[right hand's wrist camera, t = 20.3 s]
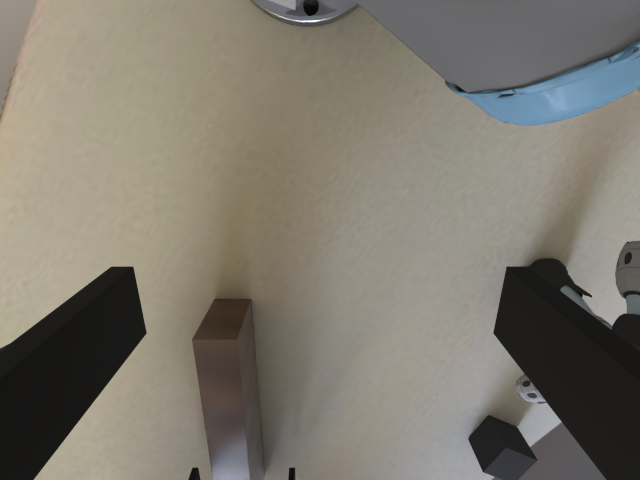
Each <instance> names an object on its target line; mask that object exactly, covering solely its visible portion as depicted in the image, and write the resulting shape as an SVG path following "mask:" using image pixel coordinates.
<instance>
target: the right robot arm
mask: <svg viewBox="0 0 640 480" xmlns="http://www.w3.org/2000/svg"><path fill="white" fill-rule="evenodd" d="M250 1H251V2H252V3H253V4H255V5H256V6H257V7H258V8H259V9H261V10H262V11H263V12H265V13H266V14H268V15H269V16H271V17H273V18H275V19H277V20H279V21H282V22H285V23H288V24H292V25H297V26H319V25H324V24H328V23H331V22H334V21H337V20H339V19H341V18H343V17H345V16H346V15H348V14H350V13H351V12H352V11H354V10H355V9H356V8H358V7H359V6H361V7H362V8H363V9H365V10H366V11H367V12H368V13H369V14H370V15H371V16H373V17H374V18H375V19H376V20H377V21H378V22H379V23H381V24H382V25H383V26H384V27H385V28H386V29H387V30H389V31H390V32H391V33H392V34H393V35H394V36H395V37H397V38H398V39H399V40H400V41H401V42H402V43H403V44H405V45H406V46H407V47H408V48H409V49H410V50H411V51H413V52H414V53H415V54H416V55H417V56H418V57H419V58H421V59H422V60H423V61H424V62H425V63H426V64H428V65H429V66H430V67H431V68H432V69H433V70H434V71H436V72H437V73H438V74H439V75H440V76H441V77H442V78H444V79H445V83H446V85H447V86H448V87H449V88H450V89H451V90H452V91H453V92H455V93H456V94H458V95H461V96H464V97H467V98H468V99H470V100H471V101H472V102H473V103H475V104H476V105H477V106H478V107H480V108H481V109H482V110H484V111H485V112H486V113H487V114H489V115H490V116H491V117H493V118H495V119H497V120H499V121H501V122H504V123H514V124H517V125H524V126H531V125H541V124H548V123H553V122H557V121H561V120H565V119H568V118H572V117H575V116H578V115H581V114H584V113H586V112H589V111H591V110H594V109H596V108H599V107H601V106H603V105H606V104H608V103H610V102H612V101H614V100H616V99H618V98H621V97H623V96H624V95H626V94H628V93H630V92H632V91H634V90H636V89H638V88H639V87H640V0H250ZM145 335H146V328H145V323H144V318H143V313H142V308H141V303H140V298H139V293H138V288H137V283H136V278H135V273H134V268H133V267H110V268H109V269H108V270H107V271H105V272H104V273H103V274H101V275H100V276H99V277H97V278H96V279H95V280H93V281H92V282H91V283H89V284H88V285H87V286H85V287H84V288H83V289H82V290H80V291H79V292H78V293H76V294H75V295H74V296H72V297H71V298H70V299H68V300H67V301H66V302H64V303H63V304H62V305H60V306H59V307H58V308H56V309H55V310H54V311H53V312H51V313H50V314H49V315H47V316H46V317H45V318H43V319H42V320H41V321H39V322H38V323H37V324H35V325H34V326H33V327H31V328H30V329H29V330H28V331H26V332H25V333H24V334H22V335H21V336H20V337H18V338H17V339H16V340H14V341H13V342H12V343H10V344H8V345H6V346H4V347H2V348H0V480H34V478H35V477H36V476H37V475H38V473H39V472H40V471H41V469H42V468H43V467H44V465H45V464H46V463H47V462H48V460H49V459H50V458H51V456H52V455H53V454H54V452H55V451H56V450H57V449H58V447H59V446H60V445H61V443H62V442H63V441H64V440H65V438H66V437H67V436H68V434H69V433H70V432H71V430H72V429H73V428H74V427H75V425H76V424H77V423H78V421H79V420H80V419H81V417H82V416H83V415H84V414H85V412H86V411H87V410H88V408H89V407H90V406H91V405H92V403H93V402H94V401H95V399H96V398H97V397H98V395H99V394H100V393H101V392H102V390H103V389H104V388H105V386H106V385H107V384H108V383H109V381H110V380H111V379H112V377H113V376H114V375H115V373H116V372H117V371H118V370H119V368H120V367H121V366H122V364H123V363H124V362H125V360H126V359H127V358H128V357H129V355H130V354H131V353H132V351H133V350H134V349H135V348H136V346H137V345H138V344H139V342H140V341H141V340H142V338H143V337H144V336H145ZM494 335H495V336H496V337H497V338H498V340H499V341H500V342H501V344H502V345H503V346H504V348H505V349H506V350H507V351H508V353H509V354H510V355H511V357H512V358H513V359H514V360H515V362H516V363H517V364H518V366H519V367H520V368H521V370H522V371H523V372H524V373H525V375H526V376H527V377H528V379H529V380H530V381H531V383H532V384H533V385H534V386H535V388H536V389H537V390H538V392H539V393H540V394H541V395H542V397H543V398H544V399H545V401H546V402H547V403H548V405H549V406H550V407H551V408H552V410H553V411H554V412H555V414H556V415H557V416H558V417H559V419H560V420H561V421H562V423H563V424H564V425H565V426H566V428H567V429H568V430H569V432H570V433H571V434H572V436H573V437H574V438H575V439H576V441H577V442H578V443H579V445H580V446H581V447H582V449H583V450H584V451H585V452H586V454H587V455H588V456H589V458H590V459H591V460H592V462H593V463H594V464H595V465H596V467H597V468H598V469H599V471H600V472H601V473H602V475H603V476H604V477H605V478H606V480H640V347H639V346H637V345H635V344H633V343H628V342H627V341H626V340H624V339H623V338H622V337H620V336H619V335H618V334H616V333H615V332H614V331H612V330H611V329H610V328H609V327H607V326H606V325H605V324H603V323H602V322H601V321H599V320H598V319H597V318H595V317H594V316H593V315H591V314H590V313H589V312H587V311H586V310H585V309H584V308H582V307H581V306H580V305H578V304H577V303H576V302H574V301H573V300H572V299H570V298H569V297H568V296H566V295H565V294H564V293H562V292H561V291H560V290H558V289H557V288H556V287H555V286H553V285H552V284H551V283H549V282H548V281H547V280H545V279H544V278H543V277H541V276H540V275H539V274H537V273H536V272H535V271H533V270H532V269H531V268H530V267H507V268H506V273H505V278H504V283H503V288H502V293H501V298H500V303H499V308H498V313H497V318H496V323H495V328H494Z"/></svg>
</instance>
